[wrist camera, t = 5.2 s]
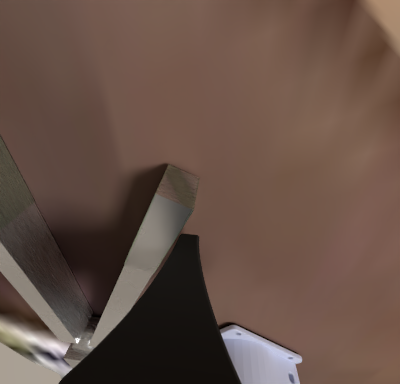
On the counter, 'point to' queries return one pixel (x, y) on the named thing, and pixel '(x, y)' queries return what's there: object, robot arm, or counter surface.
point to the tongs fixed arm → (38, 261)
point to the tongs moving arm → (145, 252)
